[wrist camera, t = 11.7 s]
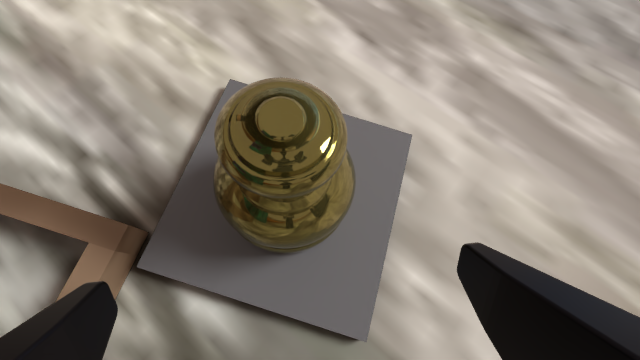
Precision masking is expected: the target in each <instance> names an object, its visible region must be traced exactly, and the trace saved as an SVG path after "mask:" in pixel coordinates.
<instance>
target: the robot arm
mask: <svg viewBox="0 0 640 360" xmlns="http://www.w3.org/2000/svg"><path fill="white" fill-rule="evenodd" d="M457 273H458V276H459V279H460V281H461V283H462V285H463V287H464V289H465V291H466V293H467V295H468V297H469V299H470V301H471V304H472V306H473V308H474V310H475V312H476V314H477V316H478V318H479V320H480V322H481V324H482V326H483V328H484V330H485V331H486V333H487V335H488V337H489V338H490V340H491V342H492V343H493V345H494V347H495V348H496V350H497V352H498V353H499V355H500V357H501V358H502V360H640V317H638V316H636V315H633V314H631V313H629V312H627V311H625V310H623V309H621V308H618V307H616V306H614V305H612V304H610V303H608V302H606V301H603V300H601V299H599V298H597V297H595V296H593V295H591V294H588V293H586V292H584V291H582V290H580V289H578V288H575V287H573V286H571V285H569V284H567V283H565V282H563V281H560V280H558V279H556V278H554V277H552V276H550V275H548V274H545V273H543V272H541V271H539V270H537V269H535V268H533V267H530V266H528V265H526V264H524V263H522V262H520V261H518V260H515V259H513V258H511V257H509V256H507V255H505V254H503V253H500V252H498V251H496V250H494V249H492V248H490V247H488V246H485V245H483V244H481V243H468V244H464V245H463V246H462V248H461V252H460V256H459V261H458V265H457ZM117 312H118V308H117V304H116V301H115V299H114V297H113V294H112V292H111V290H110V287H109V285H108V284H107V283H106V282H104V281H97V282H88V283H85V284H83V285H81V286H79V287H78V288H76V289H75V290H73V291H72V292H70V293H69V294H67V295H66V296H64V297H62V298H61V299H59V300H58V301H56V302H55V303H53V304H52V305H50V306H49V307H47V308H45V309H44V310H42V311H41V312H39V313H38V314H36V315H35V316H33V317H32V318H30V319H29V320H27V321H25V322H24V323H22V324H21V325H19V326H18V327H16V328H15V329H13V330H12V331H10V332H8V333H7V334H5V335H4V336H2V337H1V338H0V360H102V359H103V356H104V353H105V350H106V347H107V344H108V341H109V338H110V335H111V332H112V329H113V326H114V323H115V320H116V317H117Z"/></svg>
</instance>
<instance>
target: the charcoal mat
mask: <svg viewBox="0 0 640 360" xmlns="http://www.w3.org/2000/svg"><path fill="white" fill-rule="evenodd" d="M247 85H248V84H245V83H241V82H238V81H235V80H232V79H230V80H229V82H228V84H227V86H226V88H225V90H224V92H223V94H222V96H221V98H220V100H219V102H218V104H217V106H216V108H215V110H214V112H213V114H212V116H211V118H210V120H209V122H208V124H207V126H206V128H205V130H204V132H203V134H202V136H201V138H200V140H199V142H198V144H197V146H196V148H195V150H194V152H193V154H192V156H191V158H190V160H189V162H188V164H187V166H186V168H185V171H184V173H183V175H182V177H181V179H180V181H179V183H178V185H177V187H176V189H175V191H174V193H173V195H172V197H171V199H170V201H169V203H168V205H167V207H166V209H165V211H164V213H163V215H162V217H161V219H160V221H159V223H158V225H157V227H156V229H155V231H154V233H153V235H152V237H151V239H150V241H149V243H148V245H147V247H146V249H145V251H144V253H143V255H142V257H141V259H140V261H139V263H138V265H137V267H138V268H141V269H144V270H147V271H150V272H153V273H156V274H159V275H162V276H165V277H168V278H171V279H174V280H178V281H181V282H184V283H187V284H190V285H193V286H196V287H199V288H202V289H205V290H208V291H211V292H214V293H217V294H220V295H223V296H226V297H230V298H233V299H236V300H239V301H242V302H245V303H248V304H251V305H254V306H257V307H260V308H263V309H266V310H269V311H272V312H275V313H278V314H282V315H285V316H288V317H291V318H294V319H297V320H300V321H303V322H306V323H309V324H312V325H315V326H318V327H321V328H324V329H327V330H330V331H334V332H337V333H340V334H343V335H346V336H349V337H352V338H355V339H358V340H361V341H364V342H367V337H368V333H369V328H370V324H371V319H372V314H373V310H374V305H375V301H376V296H377V292H378V287H379V283H380V278H381V274H382V269H383V265H384V260H385V256H386V251H387V247H388V242H389V238H390V233H391V229H392V224H393V220H394V215H395V210H396V206H397V201H398V197H399V192H400V188H401V183H402V179H403V174H404V170H405V165H406V161H407V156H408V152H409V147H410V143H411V138H412V135H411V134H408V133H404V132H401V131H398V130H395V129H391V128H388V127H385V126H382V125H378V124H375V123H372V122H369V121H365V120H362V119H359V118H355V117H352V116H349V115H346V114H343V117H344V119H345V123H346V127H347V149H348V151H349V153H350V155H351V158H352V160H353V164H354V168H355V174H356V188H355V194H354V198H353V202H352V204H351V207H350V209H349V211H348V213H347V214H346V216H345V217H344V219H343V220H342V221H341V223H340V224H339V226H338V227H337V228H336V230H335V231H334V232H333V233H332V234H331V235H330V236H329V237H328V238H327V239H325V240H324V241H323V242H322V243H320V244H319V245H317V246H316V247H314V248H312V249H310V250H307V251H304V252H301V253H296V254H277V253H272V252H268V251H265V250H263V249H261V248H259V247H257V246H255V245H254V244H252V243H250V242H249V241H247V240H246V239H244V238H243V237H242V236H241V235H240V234H239V233H238V232H237V231H236V230H235V229H233V227H232V226H231V225H230V224H229V223H228V222H227V221H226V219H225V218H224V217H223V215H222V213H221V211H220V210H219V208H218V205H217V203H216V199H215V195H214V190H213V173H214V167H215V164H216V160H217V158H218V155H217V152H216V147H215V141H214V131H215V125H216V121H217V118H218V116H219V113H220V111H221V110H222V108H223V106H224V105H225V103H226V102H227V101H228V100H229V99H230V98H231V97H232V96H233V95H234V94H235V93H236V92H238V91H239V90H240V89H242V88H244V87H245V86H247Z"/></svg>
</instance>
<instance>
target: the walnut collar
mask: <svg viewBox="0 0 640 360" xmlns="http://www.w3.org/2000/svg"><path fill="white" fill-rule="evenodd" d="M0 214H2V215H5V216H8V217H12V218H15V219H18V220H21V221H24V222H27V223H30V224H33V225H36V226H39V227H42V228H45V229H48V230H51V231H54V232H58V233H61V234H64V235H67V236H70V237H73V238H76V239H79V240H82V241H85V242H88V245H87V247H86V249H85V250H84V252H83V254H82V256H81V258H80V259H79V261H78V263H77V265H76V266H75V268H74V270H73V272H72V273H71V275H70V277H69V279H68V280H67V282H66V284H65V286H64V287H63V289H62V291H61V293H60V294H59V296H58V298H57V300H56V301H58V300H59V299H61V298H62V297H64V296H66V295H67V294H69V293H70V292H72V291H73V290H75V289H76V288H78V287H79V286H81V285H83V284H85V283H88V282H97V281H104V282H106V283H107V284H108V285H109V287H110V290H111V292H112V294H113V297H114V299H116V297H117V295H118V293H119V291H120V289H121V287H122V285H123V283H124V281H125V279H126V277H127V275H128V273H129V271H130V269H131V267H132V265H133V263H134V261H135V259H136V257H137V255H138V253H139V251H140V249H141V247H142V245H143V243H144V241H145V239H146V237H147V235H148V233H149V232H147V231H144V230H141V229H138V228H135V227H133V226H130V225H127V224H124V223H121V222H118V221H115V220H112V219H108V218H105V217H102V216H99V215H96V214H93V213H90V212H87V211H84V210H81V209H78V208H74V207H71V206H68V205H65V204H62V203H59V202H56V201H53V200H50V199H47V198H43V197H40V196H37V195H34V194H31V193H28V192H25V191H22V190H19V189H16V188H13V187H9V186H6V185H3V184H0Z"/></svg>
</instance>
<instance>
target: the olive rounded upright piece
mask: <svg viewBox="0 0 640 360" xmlns="http://www.w3.org/2000/svg"><path fill="white" fill-rule="evenodd" d="M214 141H215V147H216V152H217V155H218V158H217V160H216V164H215V167H214V173H213V190H214V195H215V199H216V203H217V205H218V208H219V210H220V211H221V213H222V215H223V217H224V218H225V219H226V221H227V222H228V223H229V224H230V225H231V226H232V227H233V229H235V230H236V231H237V232H238V233H239V234H240V235H241V236H242V237H243V238H244V239H246V240H247V241H249V242H250V243H252V244H254V245H255V246H257V247H259V248H261V249H263V250H265V251H268V252H272V253H277V254H296V253H301V252H304V251H307V250H310V249H312V248H314V247H316V246H317V245H319V244H320V243H322V242H323V241H324V240H325V239H327V238H328V237H329V236H330V235H331V234H332V233H333V232H334V231H335V230H336V228H337V227H338V226H339V224H340V223H341V221H342V220H343V219H344V217H345V216H346V214H347V213H348V211H349V209H350V207H351V204H352V202H353V198H354V194H355V188H356V174H355V168H354V164H353V160H352V158H351V155H350V153H349V151H348V149H347V127H346V123H345V119H344V117H343V114H342V112H341V111H340V109H339V107H338V106H337V104H336V103H335V102H334V101H333V100H332V98H331V97H330V96H328V95H327V94H326V93H325V92H324V91H322V90H321V89H319V88H318V87H316V86H314V85H312V84H310V83H307V82H304V81H301V80H297V79H292V78H269V79H264V80H260V81H257V82H254V83H251V84H249V85H247V86H245V87H244V88H242V89H240V90H239V91H238V92H236V93H235V94H234V95H233V96H232V97H231V98H230V99H229V100H228V101H227V102H226V103H225V105H224V106H223V108H222V110H221V111H220V113H219V116H218V118H217V121H216V125H215V131H214Z"/></svg>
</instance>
